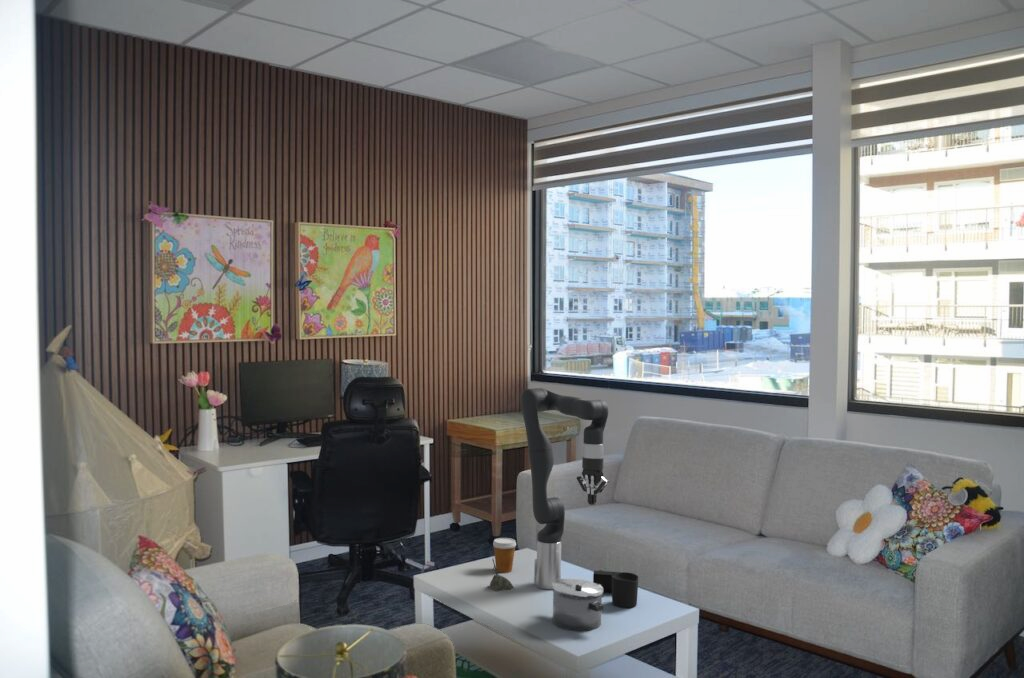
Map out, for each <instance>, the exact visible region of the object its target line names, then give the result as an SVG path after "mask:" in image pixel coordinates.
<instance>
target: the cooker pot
mask: <svg viewBox="0 0 1024 678" xmlns="http://www.w3.org/2000/svg"><path fill="white" fill-rule="evenodd" d="M552 593H553V594H552V597H553V598H552V624H553V625H555V626H556V627H558V628H559V629H560V628H561V629H562V630H566V631H571V632H572V631H573V632H587V631H593V630H596V629H598V628H600V626H601V625H602V611H604V610H605V609H604V608H605V607H604V606H605V605H604V604H602V598H604V597H605V593H604V590H603V594H602V595H600V596H596V597H578V596H571V595H567V594H563V593H560V592H558V591H556V590H554V589H552Z"/></svg>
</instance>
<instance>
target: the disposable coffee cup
mask: <svg viewBox="0 0 1024 678" xmlns="http://www.w3.org/2000/svg"><path fill="white" fill-rule="evenodd" d="M492 545H493V551H494V563H495V566H497V567H496V570H497V569H498V571H497V573H505V574H506V573H510V572H512V570H513V565H514V564H513V563H514V559H515V550H516V549H515V548H516V546H517V542H516V540H515V539H513V538H510V537H499V538H494V540H493V543H492Z"/></svg>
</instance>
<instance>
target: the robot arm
mask: <svg viewBox="0 0 1024 678" xmlns="http://www.w3.org/2000/svg"><path fill="white" fill-rule="evenodd" d="M520 407H521V411H522V417H523V422H524V427H525V433H526V441H527V449H528V460H529V467H530V474H531V475H530V476H531V484H532V485H531V486H532V489H531V492H532V511H533V516H534V520H535V521H536V522H537V523H538V524H539V525H545V526H544V527H543V528H542V529H540V531H538V532H537V538H536V559H534V567H533V568H534V569H533V570H534V575H533V585H535V586H536V587H537V588H538V589H539V588H540V589H542V590H543V589H544V590H553V588H552V582H553V581H555V580H558V579H562V577H561V576H562V537H563V535H564V529H565V516H566V515H565V512H566V509H565V505H564V502H563V500H562V499H561V498H559V497H555V496H553V497H548V492H547V490H548V488H547V487H548V486H547V485H548V482H549V478H550V476H551V473H552V470H553V468H554V462H555V461H554V452H553V444H552V443H551V441H550V439H549V437H548V436H547V434H546V433H545V431H544V429H543V428H542V427H541V424H540V420H539V416H538V415H539V413H543V412H546V411H547V412H548V411H556V412H559V413H561V414H563V415H566V416H571V417H576V418H579V419H581V420H585V421H591V422H590V425H588V426H586V427H585V428H583V429H584V430H583V440H582V441H583V445H582V456H581V457H582V463H581V465H582V466H581V468H582V472H581V474H580V475H579V476H576V480H577V482H578V483H579V486H580V487H581V489H582V491H583V492H585V493H587V504H588V505H591V506H595V505H596V504H597V495H598V494H601V493H602V492H603V491H604V489H606V487H607V486H608V484H609V483H610V482H609V479H606V478H605V477H604V476H605V475H604V472H603V471H604V460H605V459H604V458H605V457H604V453H605V452H604V450H605V449H604V431H605V428H606V424H607V420H608V417H609V406H608V404H607V402H605V401H604V400H602V399H592V400H591V399H590V400H589V399H587V400H586V399H583V398H581V397H577V396H570V395H563V394H559V393H555V392H553V391H551V390H547V389H545V388H543V387H542V388H539V387H538V388H525V389H524V390H523V391H522V392H521V394H520Z"/></svg>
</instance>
